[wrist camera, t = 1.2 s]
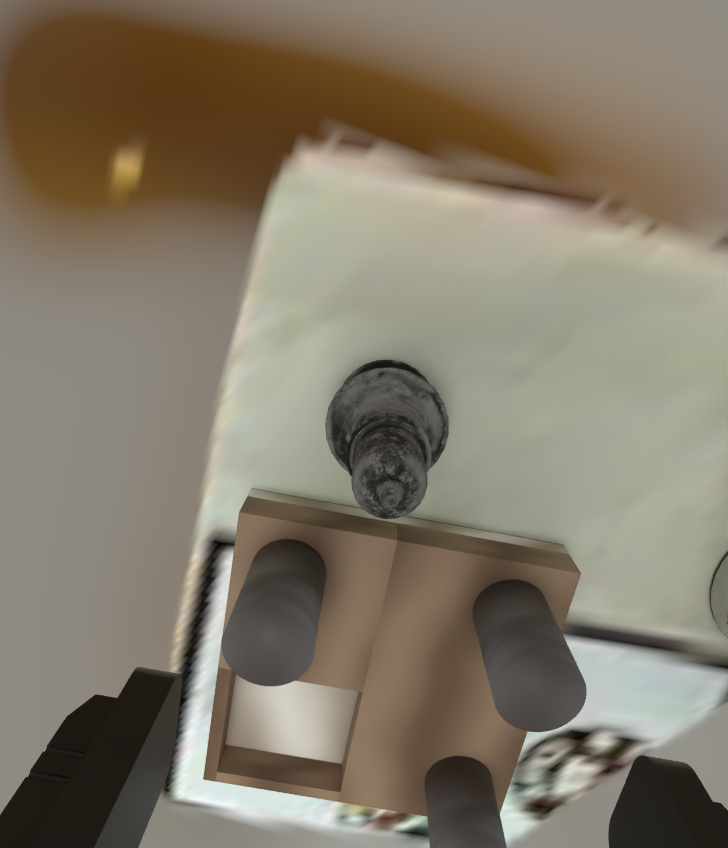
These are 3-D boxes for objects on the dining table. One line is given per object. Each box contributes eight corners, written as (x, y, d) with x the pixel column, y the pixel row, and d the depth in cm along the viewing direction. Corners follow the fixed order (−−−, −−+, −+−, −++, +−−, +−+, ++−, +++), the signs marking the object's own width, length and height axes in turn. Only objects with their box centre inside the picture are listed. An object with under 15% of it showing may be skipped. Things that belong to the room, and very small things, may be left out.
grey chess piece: (458, 376, 30) (506, 454, 19) (417, 474, 32) (439, 601, 21) (352, 338, 30) (335, 395, 18) (316, 439, 32) (281, 549, 20)
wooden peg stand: (563, 545, 33) (628, 649, 24) (486, 784, 38) (517, 939, 30) (251, 488, 33) (205, 575, 24) (216, 738, 38) (168, 884, 29)
